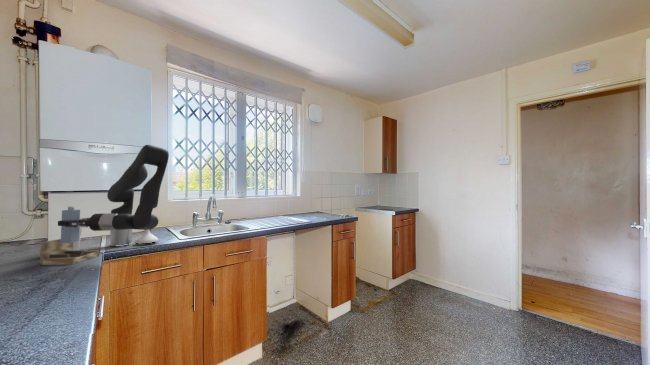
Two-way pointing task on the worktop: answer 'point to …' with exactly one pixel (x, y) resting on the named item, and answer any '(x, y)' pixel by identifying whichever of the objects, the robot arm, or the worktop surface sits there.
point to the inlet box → (63, 253)
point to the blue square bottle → (70, 232)
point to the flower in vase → (146, 238)
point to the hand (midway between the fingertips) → (63, 222)
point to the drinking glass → (76, 244)
